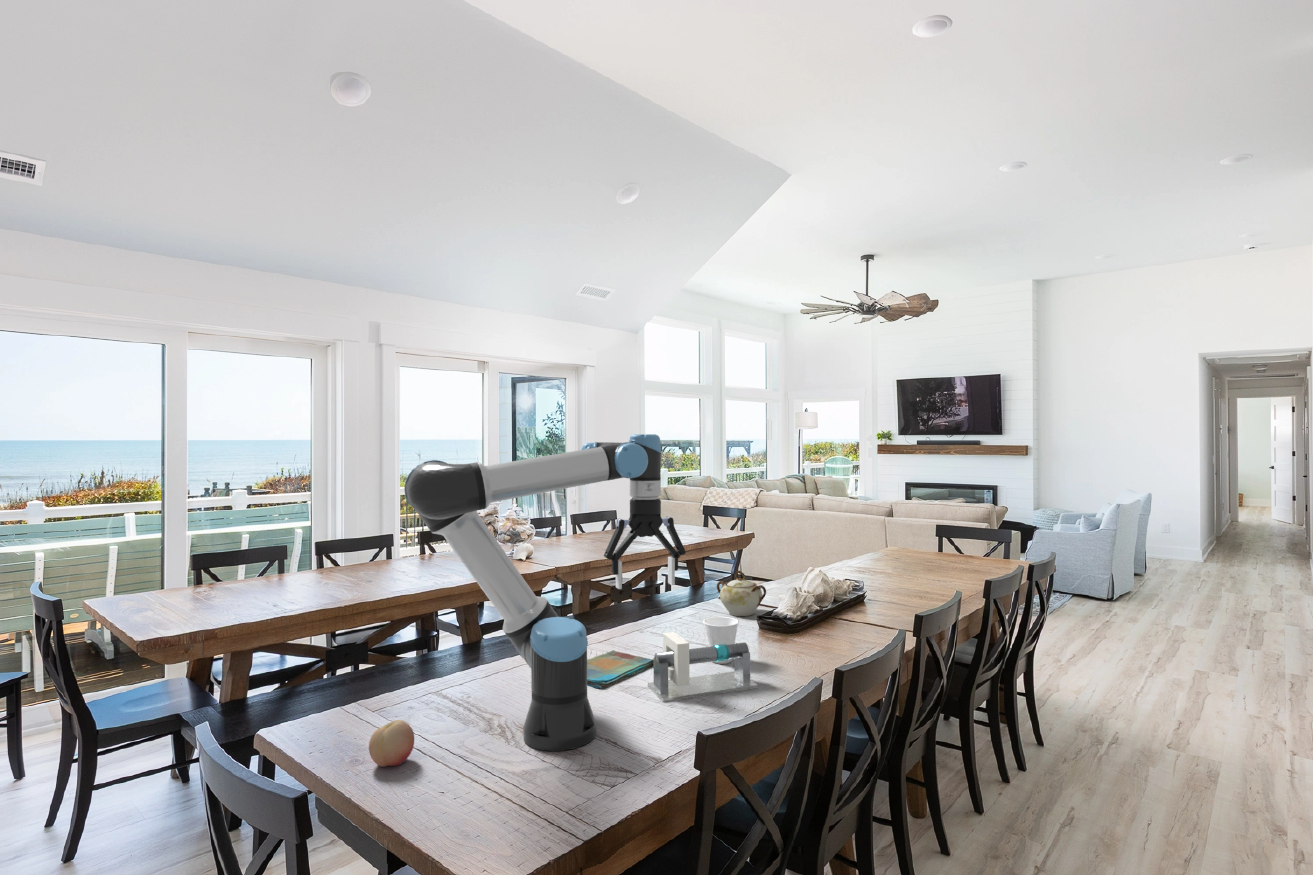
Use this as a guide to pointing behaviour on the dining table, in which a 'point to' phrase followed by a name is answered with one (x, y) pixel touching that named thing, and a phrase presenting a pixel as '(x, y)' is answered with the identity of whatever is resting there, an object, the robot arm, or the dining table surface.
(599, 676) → the dish towel
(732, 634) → the cup
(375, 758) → the fruit
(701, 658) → the pipe rig
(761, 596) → the sugar bowl
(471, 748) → the dining table surface
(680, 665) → the collar
